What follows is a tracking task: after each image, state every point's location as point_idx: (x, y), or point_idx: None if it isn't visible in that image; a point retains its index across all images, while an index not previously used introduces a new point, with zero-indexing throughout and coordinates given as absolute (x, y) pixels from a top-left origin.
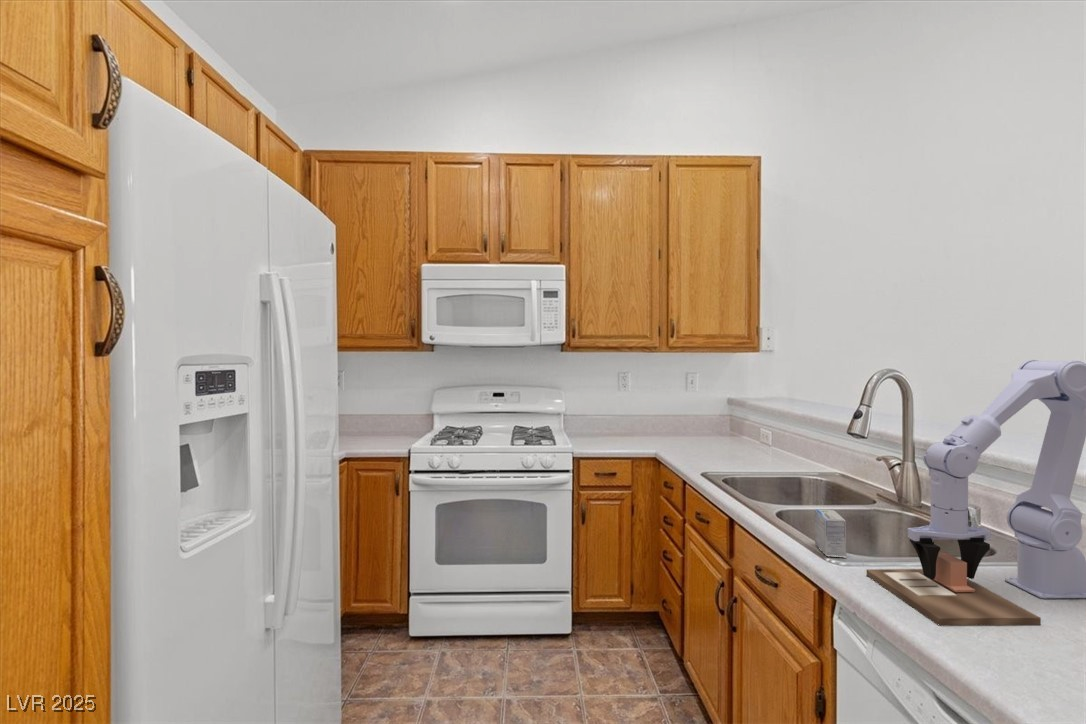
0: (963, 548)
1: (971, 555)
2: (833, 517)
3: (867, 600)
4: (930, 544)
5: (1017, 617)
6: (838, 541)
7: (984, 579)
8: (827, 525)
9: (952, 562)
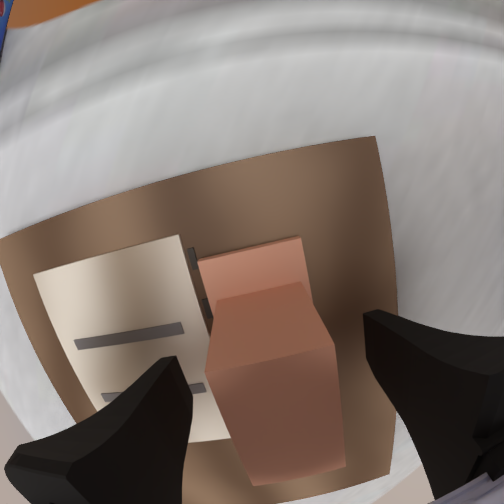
0: (438, 399)
1: (420, 432)
2: None
3: (20, 411)
4: None
5: (335, 490)
6: None
7: (465, 174)
8: None
9: (266, 481)
